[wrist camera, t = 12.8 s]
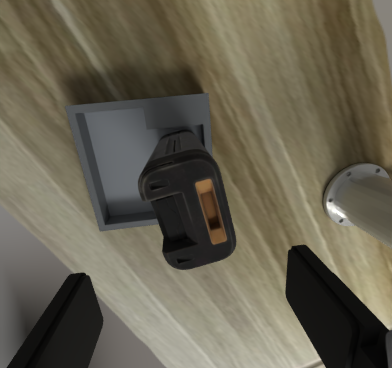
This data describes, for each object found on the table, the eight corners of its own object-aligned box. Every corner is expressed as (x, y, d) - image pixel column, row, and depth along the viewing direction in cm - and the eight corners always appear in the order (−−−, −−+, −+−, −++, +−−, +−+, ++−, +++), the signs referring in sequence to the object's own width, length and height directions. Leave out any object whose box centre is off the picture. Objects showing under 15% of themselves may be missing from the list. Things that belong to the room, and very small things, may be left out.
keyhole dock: (204, 95, 32) (208, 93, 29) (212, 206, 39) (216, 217, 35) (78, 106, 31) (64, 106, 28) (107, 219, 38) (99, 231, 34)
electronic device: (155, 136, 33) (128, 172, 14) (192, 126, 33) (215, 147, 14) (173, 190, 36) (171, 278, 17) (207, 180, 36) (241, 258, 17)
